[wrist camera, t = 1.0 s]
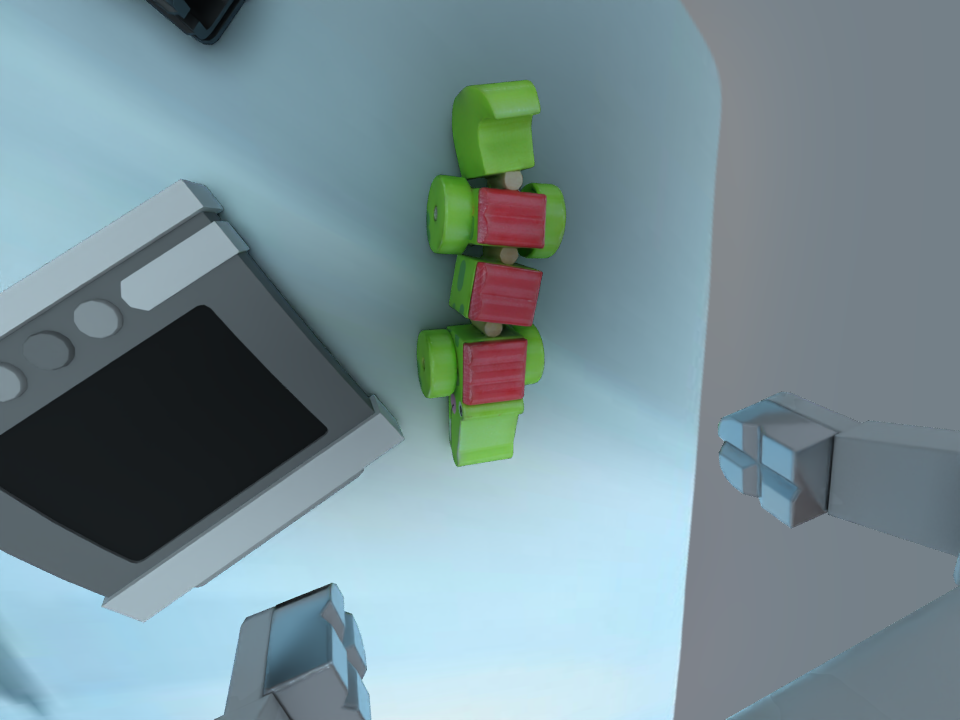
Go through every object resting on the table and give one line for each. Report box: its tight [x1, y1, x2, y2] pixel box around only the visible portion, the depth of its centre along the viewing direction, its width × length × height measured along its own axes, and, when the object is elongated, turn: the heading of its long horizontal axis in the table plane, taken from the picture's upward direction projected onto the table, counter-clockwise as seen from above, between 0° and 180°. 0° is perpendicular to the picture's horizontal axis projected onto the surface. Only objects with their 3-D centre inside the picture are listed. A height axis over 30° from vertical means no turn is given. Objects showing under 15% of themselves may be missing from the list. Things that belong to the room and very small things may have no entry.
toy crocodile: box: [417, 80, 566, 467], centre depth 24 cm, size 20×7×6 cm, turn 175°
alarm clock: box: [0, 179, 405, 622], centre depth 23 cm, size 17×5×16 cm
